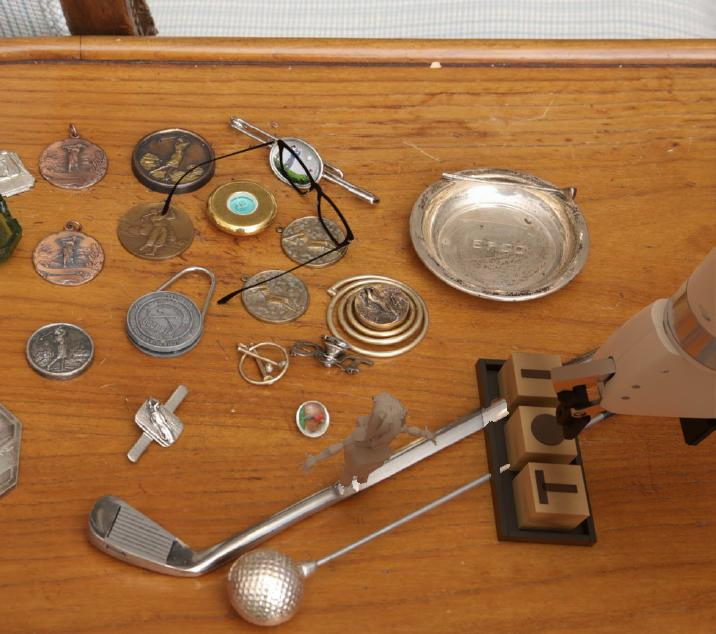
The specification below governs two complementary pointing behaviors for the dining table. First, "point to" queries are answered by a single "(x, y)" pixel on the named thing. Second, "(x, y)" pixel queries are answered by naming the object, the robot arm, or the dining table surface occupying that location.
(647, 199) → the dining table surface
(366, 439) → the human figurine
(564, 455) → the wooden block with dot
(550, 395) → the letter I
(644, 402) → the robot arm
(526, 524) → the wooden letter block
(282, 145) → the eyeglasses
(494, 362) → the letter tray
